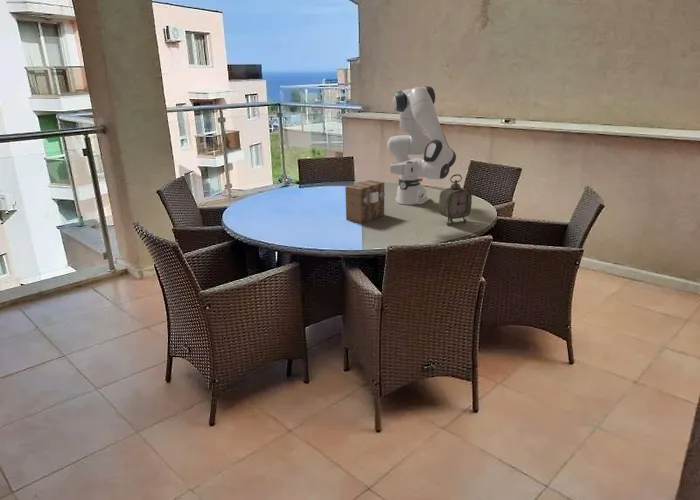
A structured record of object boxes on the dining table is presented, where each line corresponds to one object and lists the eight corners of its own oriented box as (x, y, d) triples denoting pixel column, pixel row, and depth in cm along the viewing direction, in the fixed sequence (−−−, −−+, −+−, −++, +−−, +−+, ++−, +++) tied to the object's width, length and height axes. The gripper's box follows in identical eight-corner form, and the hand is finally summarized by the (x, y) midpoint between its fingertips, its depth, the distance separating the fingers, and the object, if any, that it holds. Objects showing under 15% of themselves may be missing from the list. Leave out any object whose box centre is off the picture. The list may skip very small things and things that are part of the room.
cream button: (371, 199, 258) (371, 190, 256) (378, 201, 255) (378, 191, 253) (365, 201, 254) (365, 192, 252) (372, 203, 251) (372, 193, 250)
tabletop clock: (446, 227, 242) (449, 177, 233) (436, 222, 249) (438, 174, 241) (470, 222, 247) (473, 174, 239) (459, 218, 255) (462, 171, 246)
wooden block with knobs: (370, 211, 271) (369, 179, 265) (386, 215, 264) (386, 182, 257) (346, 219, 257) (345, 186, 251) (362, 223, 250) (362, 189, 243)
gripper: (429, 157, 238) (406, 155, 247) (404, 164, 224) (381, 161, 233) (428, 170, 241) (405, 167, 249) (404, 177, 226) (381, 174, 235)
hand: (393, 164), depth 241 cm, fingers closed
